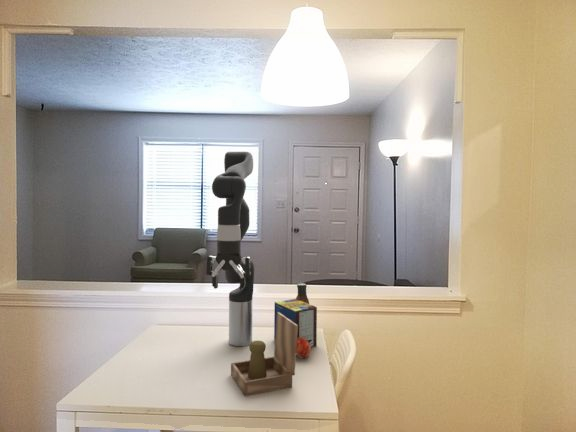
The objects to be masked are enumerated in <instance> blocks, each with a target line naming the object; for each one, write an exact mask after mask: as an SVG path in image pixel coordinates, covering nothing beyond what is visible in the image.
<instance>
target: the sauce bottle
mask: <svg viewBox="0 0 576 432" xmlns="http://www.w3.org/2000/svg"><path fill="white" fill-rule="evenodd" d="M296 288H297V296H296V297H295V299H297V300H299V301H302V302H305V303H307V304H310V302H309V301H310V300H309V298H308V295H307V284H306V283H297V284H296Z"/></svg>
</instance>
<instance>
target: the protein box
mask: <svg viewBox="0 0 576 432" xmlns="http://www.w3.org/2000/svg"><path fill="white" fill-rule="evenodd" d="M277 312H280V313H281V314H282V315H284V316H285V317H287V318H288V319H290V320H291V321H292V322H294V323H295V324H297V325H298V332H297V338H299V337H300V338H305V339H306V340H312V341H311V342H310V346H311V348H313V347H317V345H318V343H317V340H318V338H317V336H318V335H317V334H318V333H317V330H318V329H317V328H318V327H317V325H318V322H317V321H318V317H317V316H318V314H317V313H318V307H317V306H315V305H312V304H310V303H309V304H307V303H305V302H302V301H299V300H297V299H296V298H292V299H285V300H279V301H274V321H273V322H274V325H273V326H274V328H273V329H274V332H273V333H274V335H273V339H274V340H275V337H276V322H277Z"/></svg>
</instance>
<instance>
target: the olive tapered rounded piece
mask: <svg viewBox="0 0 576 432" xmlns="http://www.w3.org/2000/svg"><path fill="white" fill-rule="evenodd" d="M248 346H249V347H248V348H249V352H250V357H249V358H250V359H249V360H250V364H249V371H248V377H249V378H250V379H253V380H255V379H261V378H266V376H267V373H266V365H265V358H266V356H265V351H266V349H267V347H266V343H265V342H264V341H262V340H252V342H251V343H250V344H249V345H248Z"/></svg>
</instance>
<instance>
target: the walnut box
mask: <svg viewBox="0 0 576 432" xmlns="http://www.w3.org/2000/svg"><path fill="white" fill-rule="evenodd" d="M249 364H250V359H248V360H243V361H237V362H236V361H234V362H231V363H230V376H231V378H232V379H233V380H234V382H235V383H236V385H237V386H238V387H239V389H240V391H241V393H242V394H243V396H244V397H246V396H252V395H257V394H262V393H267V392H268V393H269V392H274V391H278V390H279V391H280V390H283V389H290V388H292V387H293V376H292V374H291V373H290V372H289V371H288V370H287V369H286V368H285V367H284V366H283V365H282V364H281V363H280V362H279V361H278V360H277V359H276V358H275V357H274V356H268V357H265V365H266V373H267V376H266V378H261V379H255V380H253V379H250V378H249V377H248V371H249Z"/></svg>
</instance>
